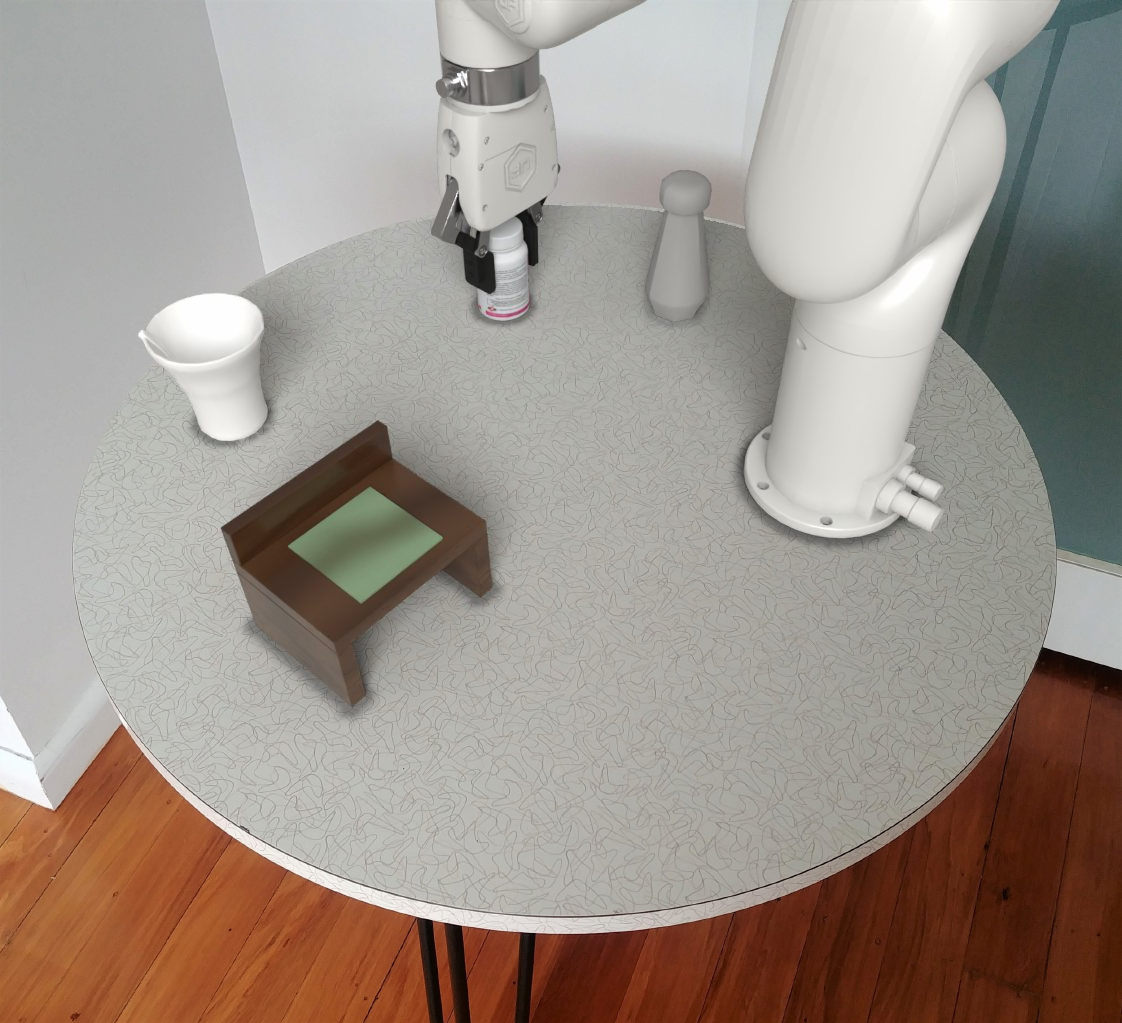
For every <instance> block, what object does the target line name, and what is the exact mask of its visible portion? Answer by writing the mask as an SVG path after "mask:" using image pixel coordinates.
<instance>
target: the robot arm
mask: <svg viewBox="0 0 1122 1023" xmlns="http://www.w3.org/2000/svg"><path fill="white" fill-rule="evenodd" d="M647 1H648V0H434V5H435V6H434V7H435V16H436V26H437V39H438V48H439V49H438V50H439V60H440V69H441V78H440V79H438V80H437V81H436V82H435V89H436V90H435V91H436V93H437V94H438V96H440V98H439V103H438V104H439V105H438V112H437V127H436V128H437V129H436V132H437V133H436V166H437V168H436V169H437V171H436V172H437V183H438V193H439V200H440V205H439V209H438V211H437V213H436V216H435V219H434V221H433V223H432V226H431V230H430V235H431V236H432V237H434V238H436V239H438V240H439V241H441V242H444V243H447V244H450V245H454V246H457V247H458V248H461V249H462V257H463V268H464V279H465V282H466V283H467V284H469V285H471V286H473V287H474V288H476V289H477V288H478V289H480V290H482V291H484V292H486V293H488V294H491V293H493V292H495V289H496V280H495V264H494V255H493V253H492V252H490V251H488V247H489V239H490V232H491V229H493V228H495V227H497V226H499V225H501V224H502V223H504V222H506V221H507V220H509V219H511V218H512V217H514V216H515V217H517V218H518V219H519V220H520V221H521V223H522V226H523V240H524V241H525V243H526V245H527V248H528V266H529V267H534V266H536V265H538V264H539V259H540V258H539V229H538V228H539V227H538V226H539V225H538V224H539V223H541V221H542V220H543V217H544V211H543V206H544V205H545V202H546V200H547V199H548V196H549V195H551V193H553V191H554V190H555V189H556V187H557V185H558V181H559V174H560V172H561V165H560V163H559V156H558V154H559V153H558V144H557V143H558V140H557V128H556V121H555V114H554V107H553V102H552V98H551V93H550V89H549V86H548V81H547V79H546V77H545V76H544V75H543V74H541V68H540V67H541V65H540V64H541V63H540V62H541V61H540V58H541V57H540V50H548V49H554V48H557V47H559V46H561V45H563V44H565V43H567V42H569V41H571V40H574V39H575V38H577V37H579V36H581V35H583V34H586V33H587V32H589V31H591V30H593V29H595V28H596V27H598V26H599V25H601V24H603V23H605V22H608V21H609V20H612V19H614V18H615V17H618V16H619V15H621V14H624V13H626V12H628V11H630V10H632V9H634V8H636V7H638V6H640V5H642V4H644V3H645V2H647ZM1060 2H1061V0H791V3H790V5H789V7H788V8H789V9H788V11H787V13H786V17H785V21H784V25H783V28H782V32H781V36H780V39H779V42H778V47H777V51H776V56H775V59H774V64H773V68H772V72H771V75H770V78H769V84H768V86H767V87H768V88H767V92H766V97H765V100H764V104H763V108H762V112H761V116H760V120H759V123H758V128H757V133H756V136H755V140H754V144H753V149H752V152H751V156H750V160H749V165H748V168H747V169H748V170H747V174H746V179H745V180H746V181H745V184H744V193H743V194H744V195H743V222H744V230H745V234H746V239H747V242H748V245H749V249H750V251H751V254H752V256H753V258H754V260H755V262H756V263H757V265H758V267H759V269H760V270H761V272H762V273H763V274H764V276H765V277H766V278H767V279H768V281H770V283H771V284H772V285H774V286H775V287H776V288H777V289H778V290H780V291H781V292H782V293H784V294H785V295H787V296H789V297H791V298H794V299H795V300H794V303H793V304H794V305H793V310H792V316H791V320H790V327H789V331H788V337H787V342H786V347H785V352H784V359H783V363H782V369H781V375H780V380H779V385H778V390H777V391H778V392H777V394H776V395H777V397H776V401H775V406H774V412H773V416H772V418H773V419H772V423H770V424H769V425H767V426H765V428H762V429H761V430H760V431H759V432H758V433H757V434H756V435H755V436H754V437H753V438H752V439H751V442H750V443H749V445H748V447H747V449H746V453H745V457H744V465H743V476H744V482H745V486H746V487H747V489H748V492H749V494H750V495H751V497H752V498H753V500H754V501H755V503H756V504H757V505H758V506H759V507H760V508H761V509H762V510H763V511H764V512H765V513H766V514H767V515H769V516H771V517H772V518H773V519H775V520H776V521H777V522H779V523H781V524H783V525H785V526H787V527H789V528H791V529H793V530H796V531H799V532H802V533H804V534H808V535H811V536H816V537H824V538H827V539H828V538H830V539H849V538H857V537H864V536H867V535H870V534H874V533H878V532H879V531H881V530H883V529H885V528H887V527H889V526H890V525H891V524H893V523H894V522H896V520H898V519H899V518H900V516H901V517H903V518H905V519H907V522H909V523H911V524H913V525H914V526H916V527H918V528H920V529H922V530H924V531H925V532H928V533H930V534H931V533H932V532H933V531H934V530H935V529H936V527H937V526H938V525H939V523H940V521H941V520H942V518H943V516H944V513H945V509H944V508H942V507H940V506H939V505H938V504H935V503H933V502H936V501H937V500H938V498H940V495H941V494H942V491H943V489H944V485H943V484H941V483H939V482H937V481H936V480H933V479H931V478H930V477H925V476H923V475H922V474H919V473H918V472H916V471H917V470H916V469H917V468H916V467H915V466H913V465H911V464H912V462H913V461H912V460H913V458H914V455H915V452H916V449H917V446H916V445H914V444H912V443H910V442H907V441H906V439H907V436H908V432H909V430H910V427H911V423H912V420H913V417H914V414H915V410H916V407H917V404H918V401H919V397H920V394H921V392H922V388H923V385H924V381H925V379H926V376H927V372H928V369H929V366H930V362H931V359H932V356H933V353H934V350H935V347H936V343H937V339H938V337H939V335H940V333H941V330H942V327H943V324H944V321H945V318H946V315H947V312H948V308H949V306H950V302H951V299H952V296H953V293H954V291H955V288H956V284H957V281H958V279H959V277H960V274H961V271H962V268H963V266H964V265H965V261H966V258H967V257H968V254H969V253H970V252H969V251H970V249H971V247H972V245H973V243H974V240H975V238H976V236H977V234H978V231H979V229H980V227H981V225H982V223H983V221H984V218H985V216H986V214H987V212H988V210H989V207H990V205H991V203H992V200H993V198H994V195H995V193H996V190H997V187H998V185H999V182H1000V179H1001V176H1002V172H1003V168H1004V164H1005V158H1006V153H1007V124H1006V119H1005V115H1004V111H1003V108H1002V105H1001V103H1000V101H999V99H998V96H997V95H996V94H995V92H994V90H993V88H992V87H991V85H989V83H988V82H987V81H986V80H985V79H986V78H988V77H989V76H990V75H992V74H993V73H994V72H996V71H997V70H998V69H1000V67H1002V66H1003V65H1005V64H1006V63H1007V62H1009V61H1010V60H1011V59H1012V58H1014V57H1015V56H1016V55H1017V54H1018V53H1019V52H1021V51H1022V50H1023V49H1024V48H1026V46H1028V45H1029V44H1030V43H1031V42H1032V41H1033V40H1034V39H1035V38H1036V37H1037V36H1038V35H1039V34H1040V33H1041V32H1042V30H1043V29H1044V28H1045V27H1046V26H1047V25H1048V24H1049V21H1050V20H1051V19H1052V17H1053V15H1054V14H1055V11H1056V10H1057V7H1058V6H1059V4H1060ZM472 228H473V229H475V237H474V236H472V235H471V230H472ZM913 491H914V492H916V493H917V494H918V495H920V496H922V497H919V496H916V495H914V494H913V493H912V492H913ZM931 501H932V502H931Z"/></svg>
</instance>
